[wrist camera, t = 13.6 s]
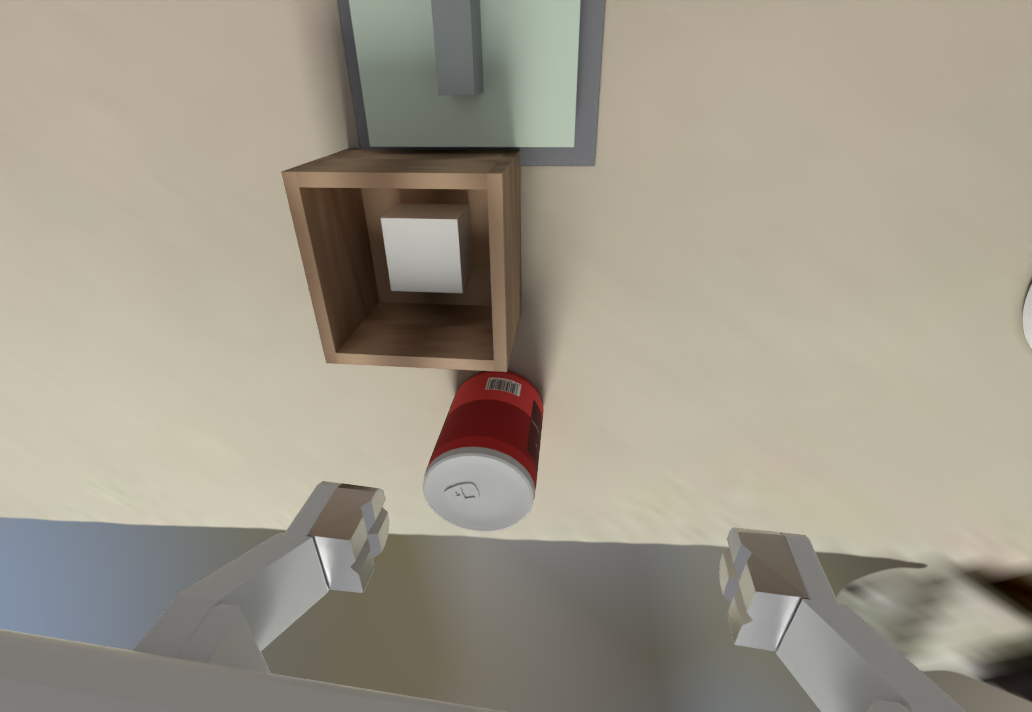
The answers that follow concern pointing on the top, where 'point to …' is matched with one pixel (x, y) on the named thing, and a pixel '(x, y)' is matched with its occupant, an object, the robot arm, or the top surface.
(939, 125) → the top surface
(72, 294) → the top surface
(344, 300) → the crate
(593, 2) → the dark grey flat plate
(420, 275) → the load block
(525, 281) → the top surface
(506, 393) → the canned food
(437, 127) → the lid
